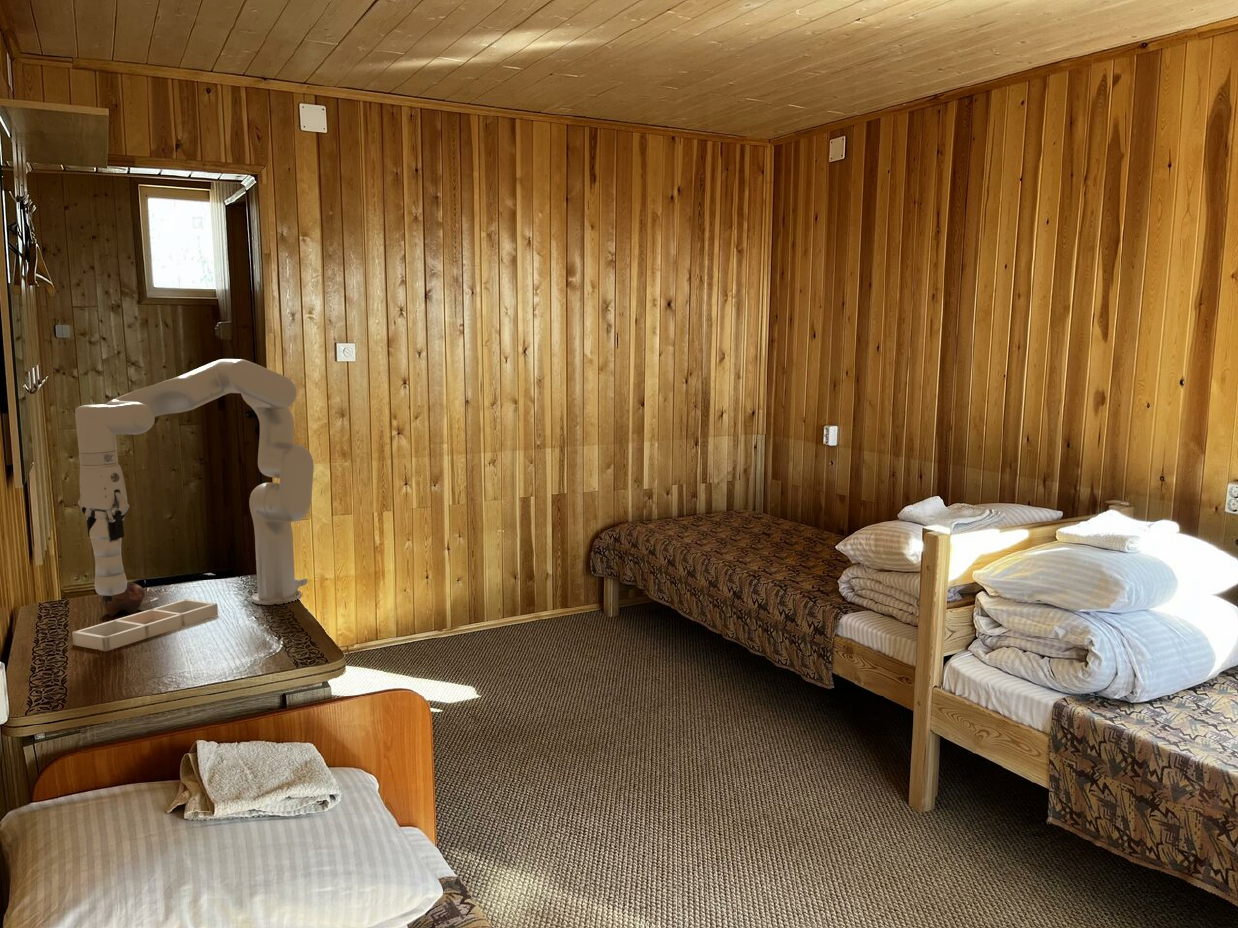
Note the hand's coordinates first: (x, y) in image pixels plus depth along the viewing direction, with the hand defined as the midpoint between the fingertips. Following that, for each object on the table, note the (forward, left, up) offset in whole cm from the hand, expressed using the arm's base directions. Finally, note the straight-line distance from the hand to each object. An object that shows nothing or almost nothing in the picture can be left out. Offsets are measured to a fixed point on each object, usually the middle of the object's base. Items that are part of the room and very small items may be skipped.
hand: (106, 536), depth 211 cm
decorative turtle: (-18, -19, -25) cm, 36 cm away
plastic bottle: (0, 0, -14) cm, 14 cm away
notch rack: (-10, 0, -25) cm, 26 cm away
